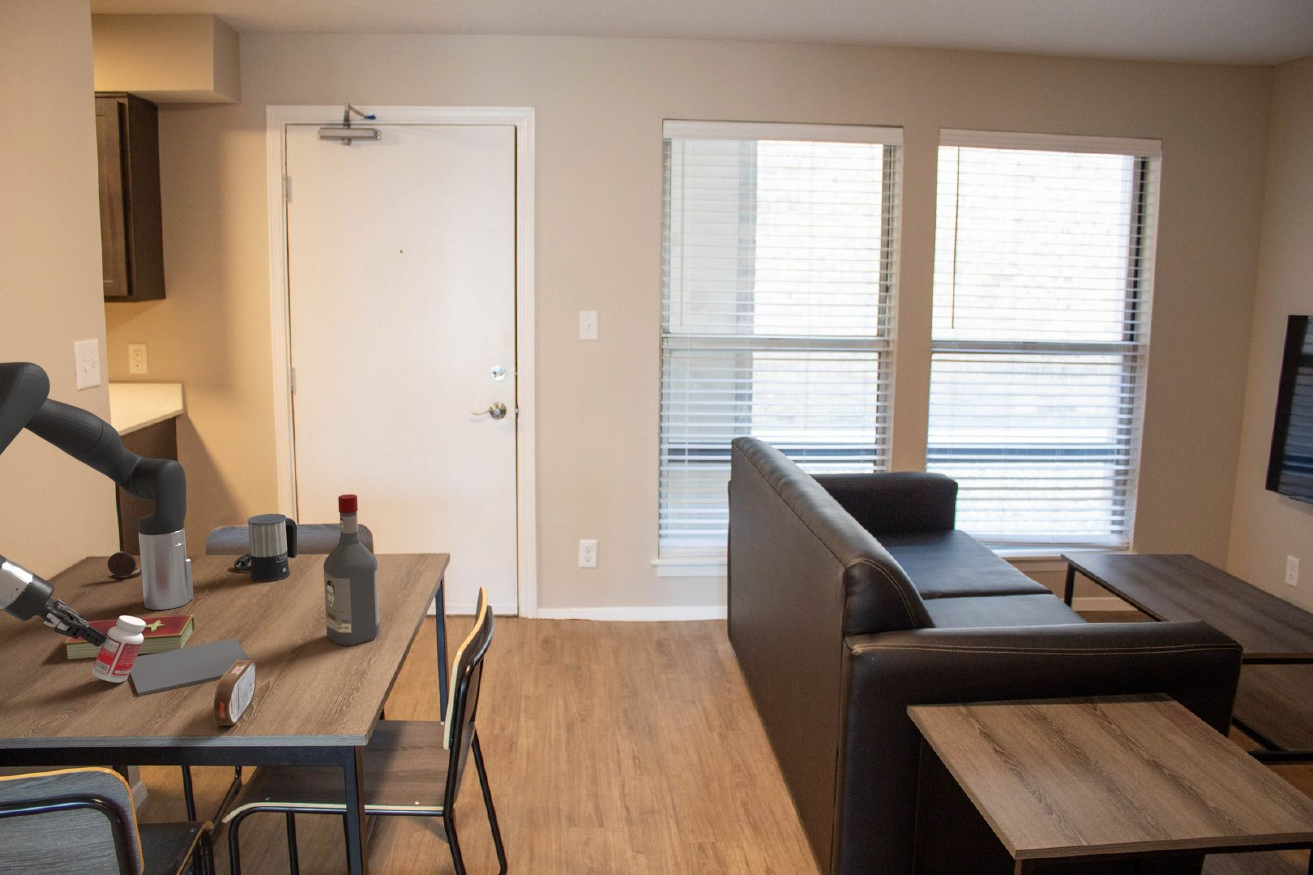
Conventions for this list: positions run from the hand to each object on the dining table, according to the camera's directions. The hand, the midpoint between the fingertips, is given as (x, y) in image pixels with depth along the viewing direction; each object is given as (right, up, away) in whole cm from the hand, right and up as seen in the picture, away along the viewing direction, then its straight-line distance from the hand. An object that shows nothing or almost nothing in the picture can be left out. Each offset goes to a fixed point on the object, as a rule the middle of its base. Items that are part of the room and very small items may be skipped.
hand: (102, 641), depth 179 cm
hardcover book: (-5, -5, +20) cm, 21 cm away
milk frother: (+3, +3, +66) cm, 66 cm away
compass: (-30, +3, +62) cm, 68 cm away
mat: (+12, -7, +9) cm, 16 cm away
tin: (+29, -11, -10) cm, 32 cm away
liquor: (+38, -4, +25) cm, 46 cm away
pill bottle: (0, -7, +1) cm, 7 cm away
